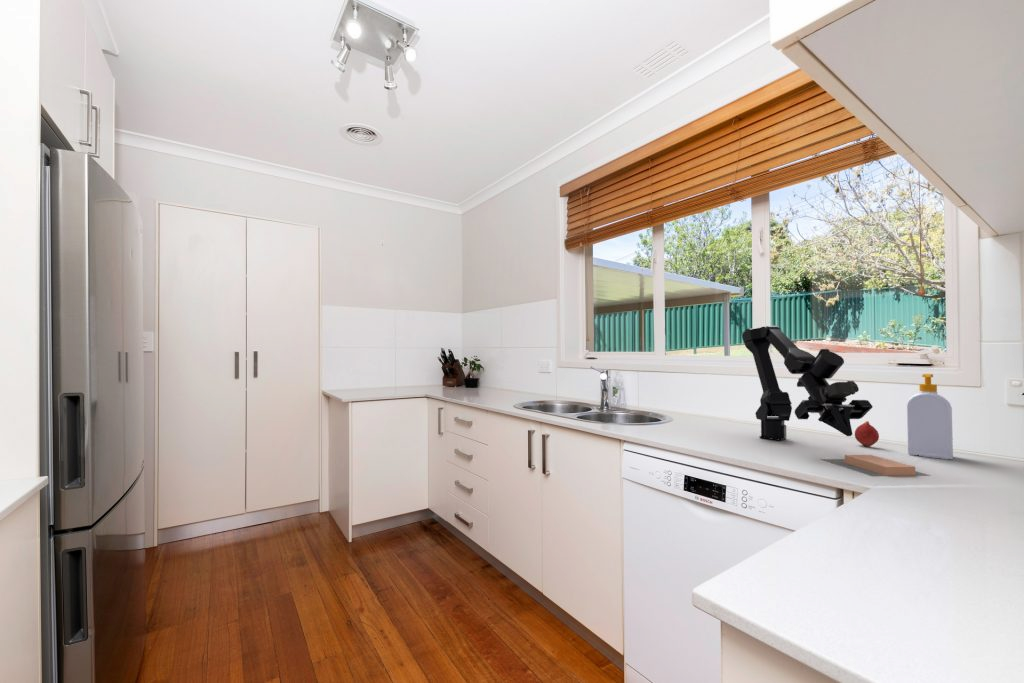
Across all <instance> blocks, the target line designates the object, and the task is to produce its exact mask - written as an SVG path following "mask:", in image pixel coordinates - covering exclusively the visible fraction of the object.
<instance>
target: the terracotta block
mask: <svg viewBox="0 0 1024 683" xmlns="http://www.w3.org/2000/svg"><path fill="white" fill-rule="evenodd" d="M844 459H845V463H847V464H850V465H854V466H857V467H860V468H863V469H866V470H870V471H873V472H876V473H879V474H883V475H886V476H885V477H909V476H908V475H915V471H916V466H914V465H911V464H907V463H903V462H899V461H895V460H892V459H887V458H884V457H881V456H876V455H873V454H845V455H844Z"/></svg>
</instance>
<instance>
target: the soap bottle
mask: <svg viewBox="0 0 1024 683" xmlns="http://www.w3.org/2000/svg"><path fill="white" fill-rule="evenodd" d="M921 377H923V378H924V383H919V388H918V389H919V391H918V393H916V394H913V395H912V396H911V397H909V398H908V400H907V403H906V416H907V419H906V421H907V453H908V455H910V456H914V455H919V456H918V457H922V456H923V457H925V458H931V457H932V458H933V459H939V458H941V459H940V460H948V459H950V460H953V458H954V448H953V446H954V445H953V443H954V442H953V440H954V438H953V408H952V405H951V402H950V401H949V400H948V399H947V398H946V397H944V396H943V395H940V394H938V385H937V384H934V383H933V384H932V378H934V374H933V373H932V374H931V373H923V374H922V375H921Z"/></svg>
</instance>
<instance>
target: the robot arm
mask: <svg viewBox="0 0 1024 683" xmlns="http://www.w3.org/2000/svg"><path fill="white" fill-rule="evenodd" d="M741 338H742V341H743V343H744V345H745V346H744V347H745V348H746V349H747V350H748V351H750V353H751V355H752V356H753V360H754V364H755V367H756V370H757V375H758V378H759V380H760V385H761V389H762V394H761V396H760V401H759V402H760V405H759V407H758V409H757V410H756V411H755V418H756V420H759V421H760V436H758V437H765V438H772V439H771V440H773V439H779V440H778V441H782V440H781V439H783V440H785V439H784V438H786V439H787V425H786V424H785V422H786V421H787V422H788V421H790V418H791V414H792V410H793V406H792V404H793V403H792V401H791V399H790V394H789V393H788V392H787V391H783V390H781V388H780V386H779V382H778V379H777V375H776V372H775V368H774V365H773V362H772V361H773V360H772V358H771V356H770V355H771V354H770V351H769V349H770V348H771V345H772V347H774V348H775V350H776V351H777V352H778V353H779V354H780V355H781V356H782V357H783V359H784V360H783V364H784V365H785V367H786V370H788V372H789V373H790V374H791V375H801V377H798V381H797V383H796V387H798V388H804V389H805V390H806V392H807V393H808V395H809V396H808V398H807V399H802V401H801V402H800V403H799V404H798V405H797V406H796V408H795V409H794V415H795V417H796V418H797V419H798V420H808V419H809V418H810V414H809V413H811V414H819V416H820V417H818V419H817V420H818V421H819V422H822V423H824V424H826V425H827V426H830V427H831V428H833V429H835V430H837V431H838V432H840V433H842V434H843V435H845V436H846V437H852V435H853V431H852V430H853V429H852V425H851V420H859V419H862V418H864V417H865V416H866V415H867V414H868V412H870V411H871V409H873V408H874V407H873V405H872V404H871V402H870V401H869V400H867V399H852V400H851V401H850V402H849V403H848V404H843V403H845V402H846V401H847V397H848V396H851V395H855V394H856V393H858V392H859V386H858V384H857V383H856V382H855V381H854V380H847V381H835V382H833V383H830V384H829V382H828V381H827V380H828V379H833V377H834V376H835V375H836V373H837V372H838V371H839V369H840V368H841V367H842V366H843V365H844V364H845V360H844V358H843V357H842V356H841V355H839V354H837V353H835V352H833V351H830V349H828V348H821V349H820V350H819V351H818V353H817V355H816V356H814V355H813V354H811V353H810V352H809V351H807V350H806V351H805V350H803V349H800V348H799V347H798V346H797V345H796V344H795V343H794V342H793V341H792V340H791V339H790V338H789V337H788V336H787V335H786V334H785V333H784V332H783V331H782V329H781V327H780V326H778V325H764V326H760V327H757V328H746V329H745V330H744V331H743V332H742V335H741ZM765 438H764V439H765Z"/></svg>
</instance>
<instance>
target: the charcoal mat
mask: <svg viewBox="0 0 1024 683" xmlns="http://www.w3.org/2000/svg"><path fill="white" fill-rule="evenodd" d="M821 460H822V461H824V462H828V463H831V464H834V465H837V466H840V467H842V468H846V469H849V470H852V471H856V472H858V473H862V474H863V475H868V476H871V477H887V476H886V475H883V474H879V473H876V472H873V471H870V470H866V469H863V468H860V467H857V466H854V465H850V464H847V463H845V458H823V459H822V458H820V461H821ZM911 476H912V477H916V476H917V477H924V476H925V477H927V476H928V477H929V476H931V474H927V473H924V472H921V471H916V470H915V475H908V476H907V477H911Z"/></svg>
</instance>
